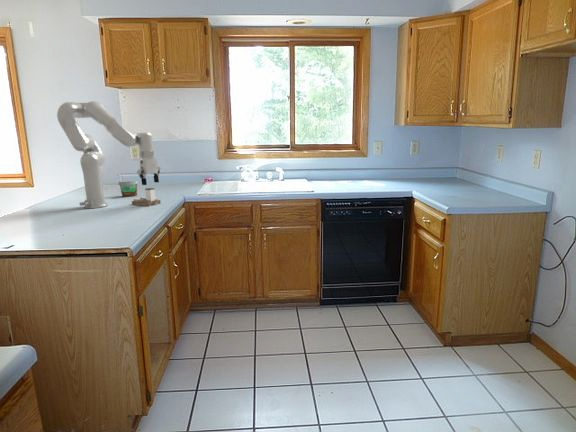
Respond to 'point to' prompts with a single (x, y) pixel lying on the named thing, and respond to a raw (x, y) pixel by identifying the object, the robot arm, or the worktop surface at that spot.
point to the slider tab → (150, 194)
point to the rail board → (145, 202)
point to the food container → (128, 188)
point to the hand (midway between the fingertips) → (150, 183)
